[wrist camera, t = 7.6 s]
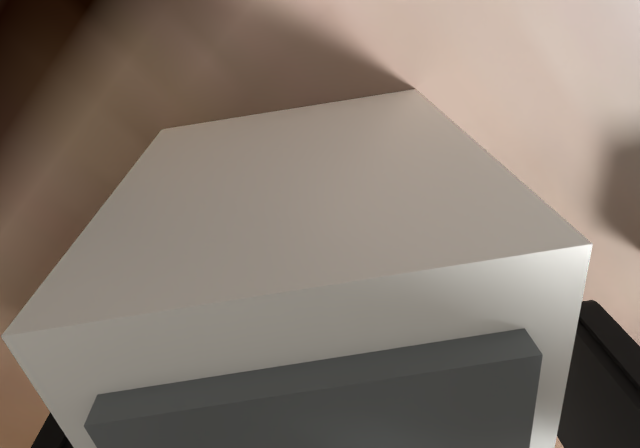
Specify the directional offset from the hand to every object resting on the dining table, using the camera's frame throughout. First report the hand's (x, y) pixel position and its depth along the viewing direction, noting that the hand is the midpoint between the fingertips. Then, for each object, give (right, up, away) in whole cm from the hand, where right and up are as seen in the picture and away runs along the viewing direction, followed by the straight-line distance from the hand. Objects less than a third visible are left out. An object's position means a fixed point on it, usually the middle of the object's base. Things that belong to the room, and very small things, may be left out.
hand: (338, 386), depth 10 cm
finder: (-1, +2, +3) cm, 4 cm away
